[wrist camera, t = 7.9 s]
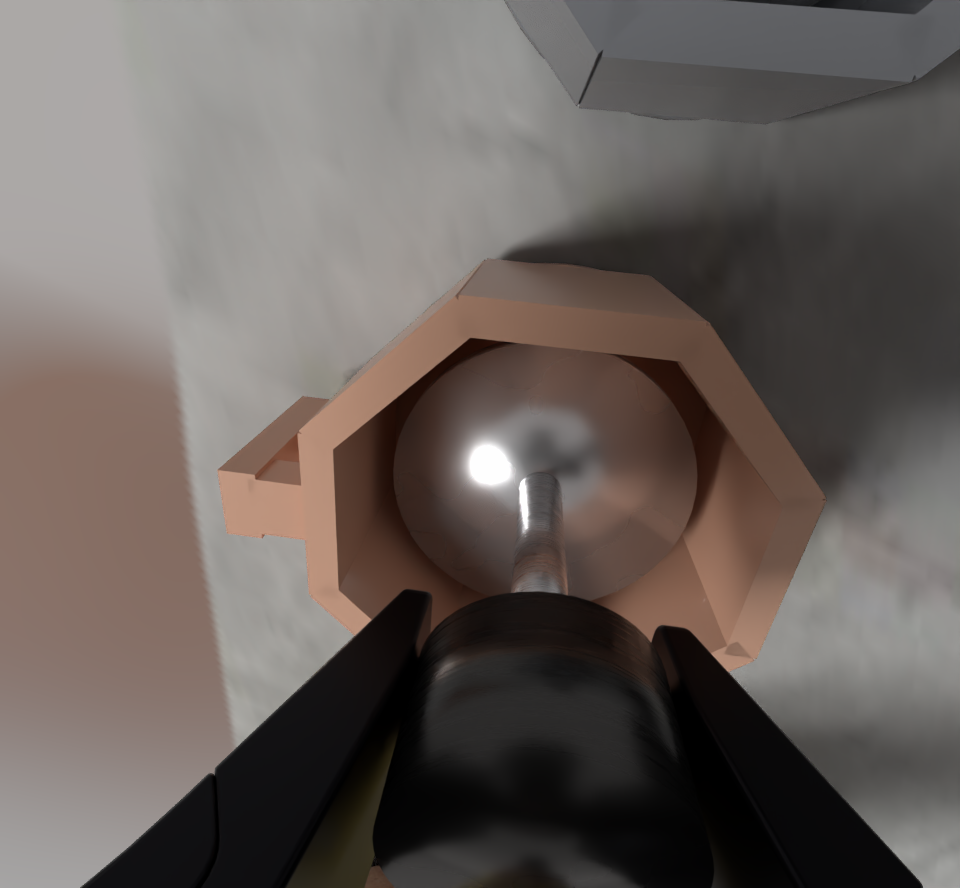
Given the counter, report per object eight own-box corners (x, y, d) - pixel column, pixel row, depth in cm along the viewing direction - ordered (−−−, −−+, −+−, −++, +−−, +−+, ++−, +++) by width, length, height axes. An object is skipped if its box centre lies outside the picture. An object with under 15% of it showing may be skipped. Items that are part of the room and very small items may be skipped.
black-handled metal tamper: (729, 356, 10) (1094, 682, 3) (652, 608, 13) (770, 1058, 6) (401, 319, 11) (152, 549, 4) (396, 572, 13) (248, 961, 7)
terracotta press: (761, 283, 12) (896, 342, 7) (667, 585, 16) (717, 746, 11) (310, 236, 12) (177, 263, 8) (326, 538, 16) (242, 672, 12)
